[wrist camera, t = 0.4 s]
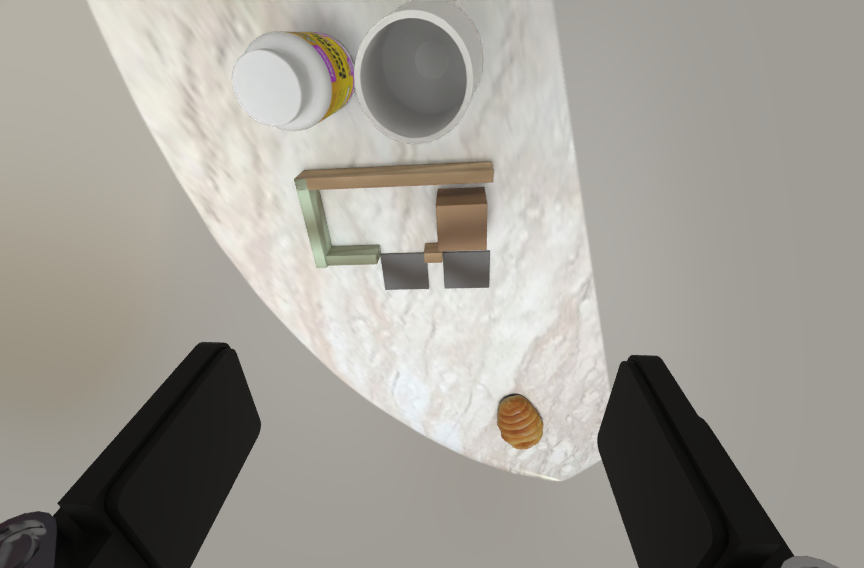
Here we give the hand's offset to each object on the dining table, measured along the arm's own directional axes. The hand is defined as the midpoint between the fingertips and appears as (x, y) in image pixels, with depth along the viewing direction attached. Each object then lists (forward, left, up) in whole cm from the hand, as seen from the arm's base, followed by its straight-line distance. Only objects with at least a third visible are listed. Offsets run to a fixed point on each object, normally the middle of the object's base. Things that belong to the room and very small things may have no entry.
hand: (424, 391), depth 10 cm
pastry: (+44, +9, -35) cm, 57 cm away
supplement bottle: (-5, -12, -35) cm, 37 cm away
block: (+9, +1, -35) cm, 36 cm away
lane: (+12, -6, -34) cm, 37 cm away
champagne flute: (-6, -1, -35) cm, 35 cm away
